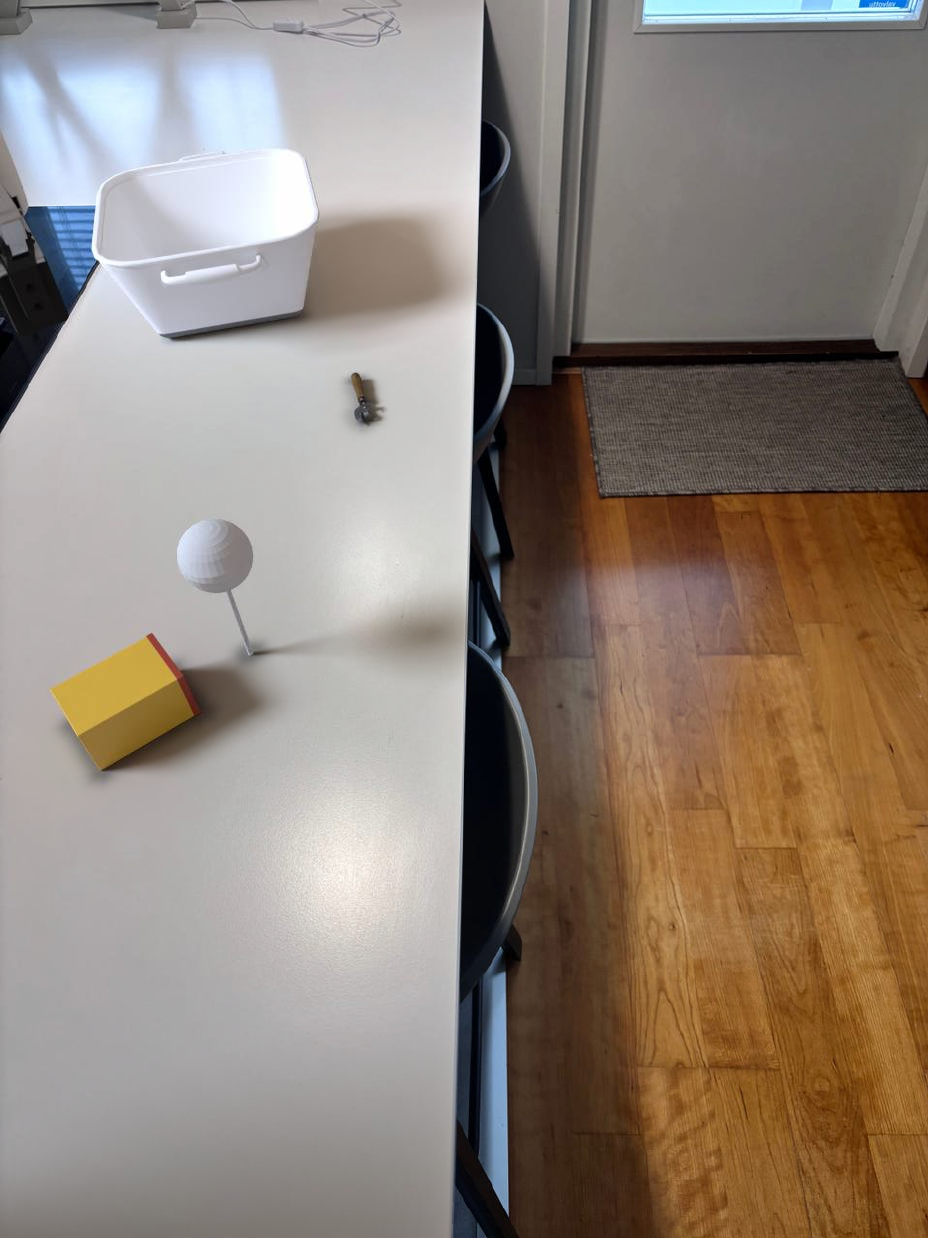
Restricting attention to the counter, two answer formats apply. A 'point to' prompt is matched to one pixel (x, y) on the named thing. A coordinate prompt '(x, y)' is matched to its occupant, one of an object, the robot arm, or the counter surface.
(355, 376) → the can opener
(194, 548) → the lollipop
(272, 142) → the counter surface
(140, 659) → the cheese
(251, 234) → the tub
